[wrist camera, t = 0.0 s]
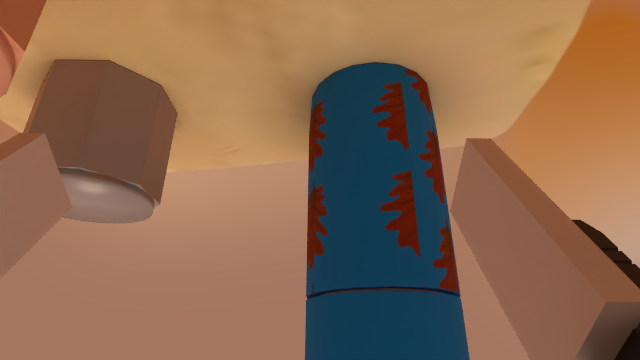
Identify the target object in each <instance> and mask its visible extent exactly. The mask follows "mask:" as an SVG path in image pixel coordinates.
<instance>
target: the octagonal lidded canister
mask: <svg viewBox="0 0 640 360" xmlns="http://www.w3.org/2000/svg"><path fill="white" fill-rule="evenodd" d="M45 3H46V0H0V97H1V96H3V95H4V94H6V92H7V90H8V88H9V85H10V83H11V81H12V78H13V76H14V73H15V71H16V69H17V67H18V64H19V62H20V60H21V58H22V55H23V53H24V52H25V50H26V48H27V45H28V43H29V41H30V38H31V36H32V34H33V31H34V29H35V26H36V24H37V22H38V19H39V17H40V15H41V12H42V10H43V7H44V5H45Z"/></svg>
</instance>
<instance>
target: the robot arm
mask: <svg viewBox="0 0 640 360" xmlns="http://www.w3.org/2000/svg"><path fill="white" fill-rule="evenodd" d="M71 208H72V205H71V203H70V200H69V197H68V194H67V192H66V189H65V186H64V184H63V181H62V178H61V175H60V173H59V170H58V167H57V165H56V162H55V159H54V157H53V154H52V151H51V148H50V146H49V143H48V140H47V138H46V135H45V133H19V134H17V135H16V136H14V137H12V138H10V139H9V140H7V141H5V142H3V143H1V144H0V279H1V278H2V277H3V276H4V275H5V274H6V273H7V272H8V271H9V270H10V269H11V268H12V267H13V266H14V265H15V264H16V263H17V262H18V261H19V260H20V259H21V258H22V257H23V256H24V255H25V254H26V253H27V252H28V251H29V250H30V249H31V248H32V247H33V246H34V245H35V244H36V243H37V242H38V241H39V240H40V239H41V238H42V237H43V236H44V235H45V234H46V233H47V232H48V231H49V230H50V229H51V228H52V227H53V226H54V225H55V224H56V223H57V222H58V221H59V220H60V219H61V218H62V217H63V216H64V215H65V214H66V213H67V212H68V211H69V210H70V209H71ZM450 211H451V213H452V215H453V217H454V219H455V221H456V223H457V225H458V227H459V228H460V230H461V232H462V234H463V236H464V238H465V240H466V241H467V243H468V245H469V247H470V249H471V251H472V253H473V254H474V256H475V258H476V260H477V262H478V264H479V266H480V267H481V269H482V271H483V273H484V275H485V277H486V279H487V281H488V282H489V284H490V286H491V288H492V290H493V292H494V294H495V295H496V297H497V299H498V301H499V303H500V305H501V307H502V308H503V310H504V312H505V314H506V316H507V318H508V319H509V322H510V323H511V325H512V327H513V329H514V331H515V333H516V335H517V336H518V338H519V340H520V342H521V344H522V346H523V347H524V349H525V351H526V353H527V355H528V357H529V359H530V360H640V268H638V266H637V265H636V264H632V263H631V262H632V261H631V260H630V259H629V258H628V257H627V256H626V255H625V254H624V253H623V252H622V251H618V247H617V246H615V245H614V244H613V243H612V242H611V241H610V240H609V239H608V238H607V237H606V236H605V235H604V234H603V233H601V232H600V231H598V230H596V229H595V228H593V227H591V226H590V225H588V224H586V223H584V222H583V221H581V220H571V219H570V218H569V217H568V216H567V215H566V214H565V213H564V212H563V211H562V210H561V209H560V208H559V207H558V206H557V205H556V204H555V203H554V202H553V201H552V200H551V199H550V198H549V197H548V196H547V195H546V194H545V193H544V192H543V191H542V190H541V189H540V188H539V187H538V186H537V185H536V184H535V183H534V182H533V181H532V180H531V179H530V178H529V177H528V176H527V175H526V174H525V173H524V172H523V171H522V170H521V169H520V168H519V167H518V166H517V165H516V164H515V163H514V162H513V161H512V160H511V159H510V158H509V157H508V156H507V155H506V154H505V153H504V152H503V151H502V150H501V149H500V148H499V147H498V146H497V145H496V143H495V142H494V141H492V139H482V138H466V142H465V147H464V152H463V156H462V161H461V165H460V169H459V174H458V178H457V183H456V188H455V192H454V196H453V201H452V205H451V210H450Z"/></svg>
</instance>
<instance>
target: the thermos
mask: <svg viewBox="0 0 640 360" xmlns="http://www.w3.org/2000/svg"><path fill="white" fill-rule="evenodd" d="M308 180H309V181H308V232H307V237H308V238H307V286H306V289H307V290H306V296H307V299H308V300H306V340H305V341H306V342H305V360H470V359H469V352H468V345H467V338H466V331H465V324H464V317H463V310H462V303H461V299H460V289H459V282H458V276H457V268H456V261H455V255H454V247H453V241H452V233H451V226H450V219H449V213H448V205H447V198H446V191H445V184H444V177H443V170H442V164H441V156H440V149H439V142H438V135H437V130H436V125H435V120H434V115H433V110H432V106H431V101H430V96H429V92H428V87H427V83H426V82H425V81H424V80H423V79H422V78H421V77H420V76H419V75H418V74H417V73H416V72H414V71H412V70H409V69H407V68H405V67H402V66H400V65H394V64H386V63H377V62H376V63H368V64H361V65H353V66H350V67H348V68H345V69H343V70H340V71H338V72H335V73H333V74H332V75H330V76H329V77H328V78H327V79H325V80H324V81H323V82H322V83H320V84H319V85H318V87H317V89H316V91H315V93H314V95H313V97H312V108H311V120H310V132H309V179H308Z"/></svg>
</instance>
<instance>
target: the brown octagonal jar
mask: <svg viewBox="0 0 640 360" xmlns="http://www.w3.org/2000/svg"><path fill="white" fill-rule="evenodd" d="M176 117H177V112H176V110H175V109H174V107H173V105H172V103H171V102H170V100H169V98H168V96H167V95H166V93H165V91H164V89H163V88H162V86H161V85H159V84H157V83H155V82H153V81H151V80H149V79H147V78H145V77H143V76H140V75H138V74H136V73H134V72H132V71H130V70H128V69H126V68H124V67H122V66H120V65H117V64H115V63H113V62H111V61H95V60H55V62H54V64H53V65H52V67H51V69H50V71H49V72H48V74H47V76H46V78H45V80H44V81H43V83H42V84H41V87H40V90H39V92H38V95H37V98H36V100H35V103H34V106H33V108H32V111H31V113H30V116H29V119H28V121H27V124H26V127H25V129H24V132H23V133H45V135H46V138H47V140H48V143H49V146H50V148H51V151H52V154H53V157H54V159H55V162H56V165H57V167H58V170H59V173H60V175H61V178H62V181H63V184H64V186H65V189H66V192H67V194H68V197H69V200H70V203H71V205H72V208H71V209H70V210H69V211H68V212H67V213H66V214H65V215H64V216H63V217H64V218H69V219H74V220H80V221H88V222H97V223H132V222H139V221H142V220H145V219H147V218H149V217H151V215H152V213H153V209H154V207H156V206H158V205H159V204H160V201H161V196H162V190H163V186H164V180H165V175H166V170H167V165H168V159H169V154H170V149H171V144H172V138H173V133H174V128H175V122H176Z"/></svg>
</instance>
